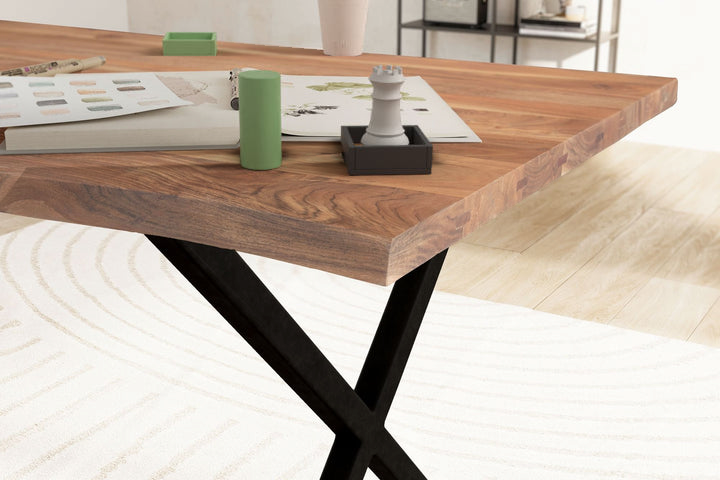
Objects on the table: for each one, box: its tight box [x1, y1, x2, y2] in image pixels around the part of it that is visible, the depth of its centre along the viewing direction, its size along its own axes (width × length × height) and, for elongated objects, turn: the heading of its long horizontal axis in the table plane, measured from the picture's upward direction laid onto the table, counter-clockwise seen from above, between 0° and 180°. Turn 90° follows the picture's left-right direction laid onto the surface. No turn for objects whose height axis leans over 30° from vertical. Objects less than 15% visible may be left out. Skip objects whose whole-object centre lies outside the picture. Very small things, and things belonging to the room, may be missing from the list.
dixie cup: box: [317, 0, 370, 57], centre depth 128 cm, size 8×8×10 cm
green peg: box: [237, 69, 283, 171], centre depth 77 cm, size 4×4×8 cm
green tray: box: [161, 31, 218, 57], centre depth 127 cm, size 7×7×2 cm
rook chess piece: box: [360, 64, 410, 146], centre depth 78 cm, size 4×4×8 cm
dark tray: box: [340, 124, 434, 176], centre depth 79 cm, size 7×7×2 cm
